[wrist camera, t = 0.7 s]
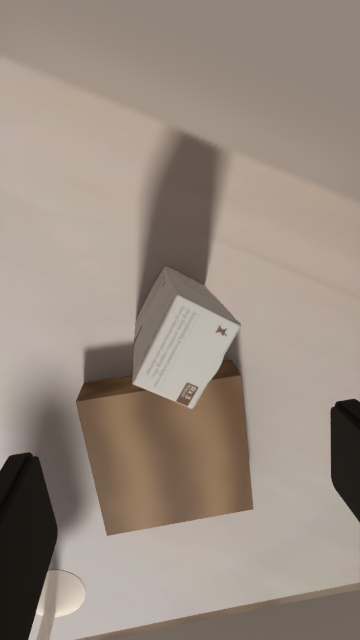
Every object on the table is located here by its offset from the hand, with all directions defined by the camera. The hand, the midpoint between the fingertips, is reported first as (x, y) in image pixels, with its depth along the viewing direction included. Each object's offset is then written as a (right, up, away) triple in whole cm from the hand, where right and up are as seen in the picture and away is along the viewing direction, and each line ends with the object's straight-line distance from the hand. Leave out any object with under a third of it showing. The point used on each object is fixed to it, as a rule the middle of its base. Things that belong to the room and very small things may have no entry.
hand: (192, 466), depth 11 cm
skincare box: (-1, +6, +20) cm, 21 cm away
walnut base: (-2, -7, +24) cm, 25 cm away
